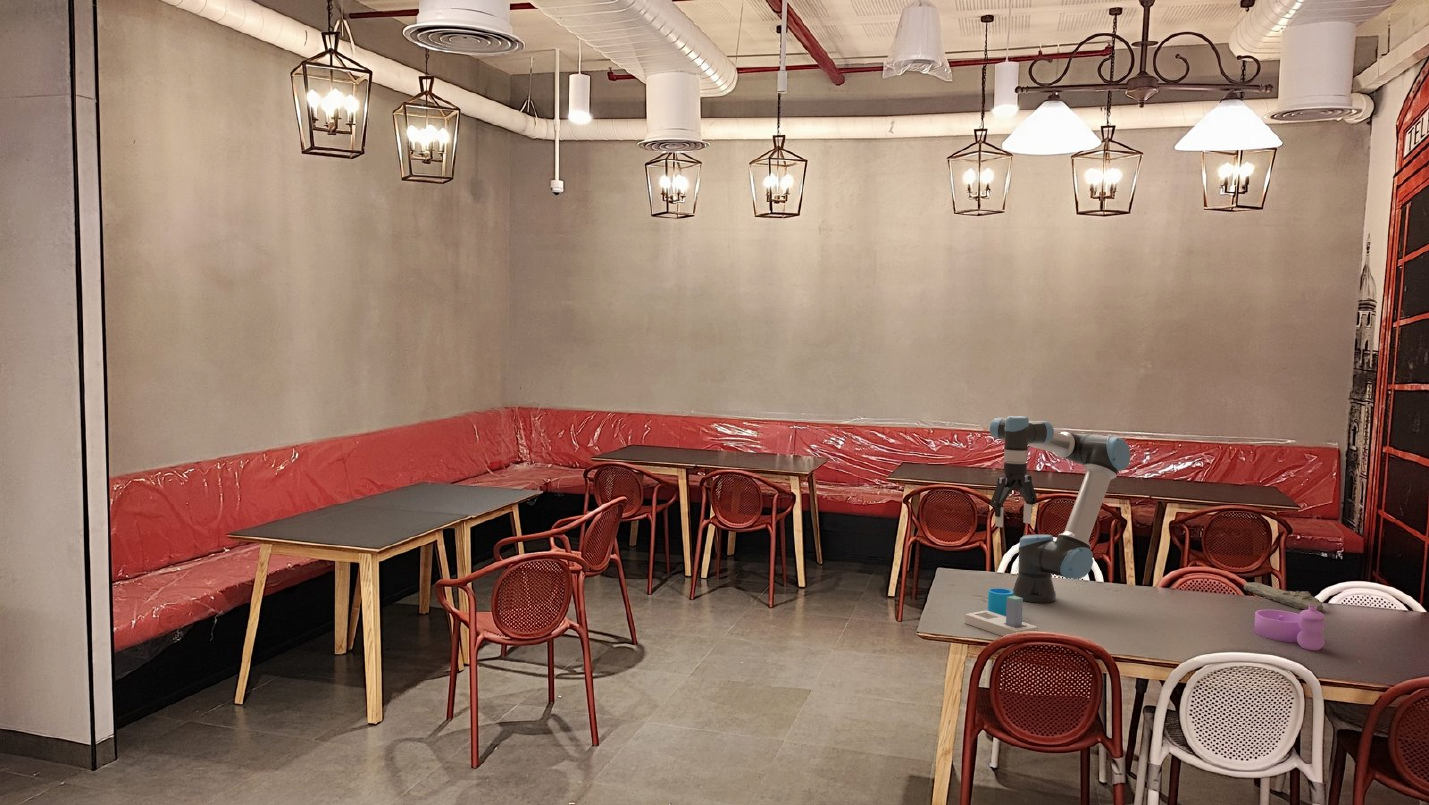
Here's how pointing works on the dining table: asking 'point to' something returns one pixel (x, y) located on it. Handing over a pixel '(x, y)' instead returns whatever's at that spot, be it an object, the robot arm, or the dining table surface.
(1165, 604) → the dining table surface
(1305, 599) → the long grey stone
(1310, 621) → the container set
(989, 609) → the mug
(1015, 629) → the port panel
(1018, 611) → the plug
